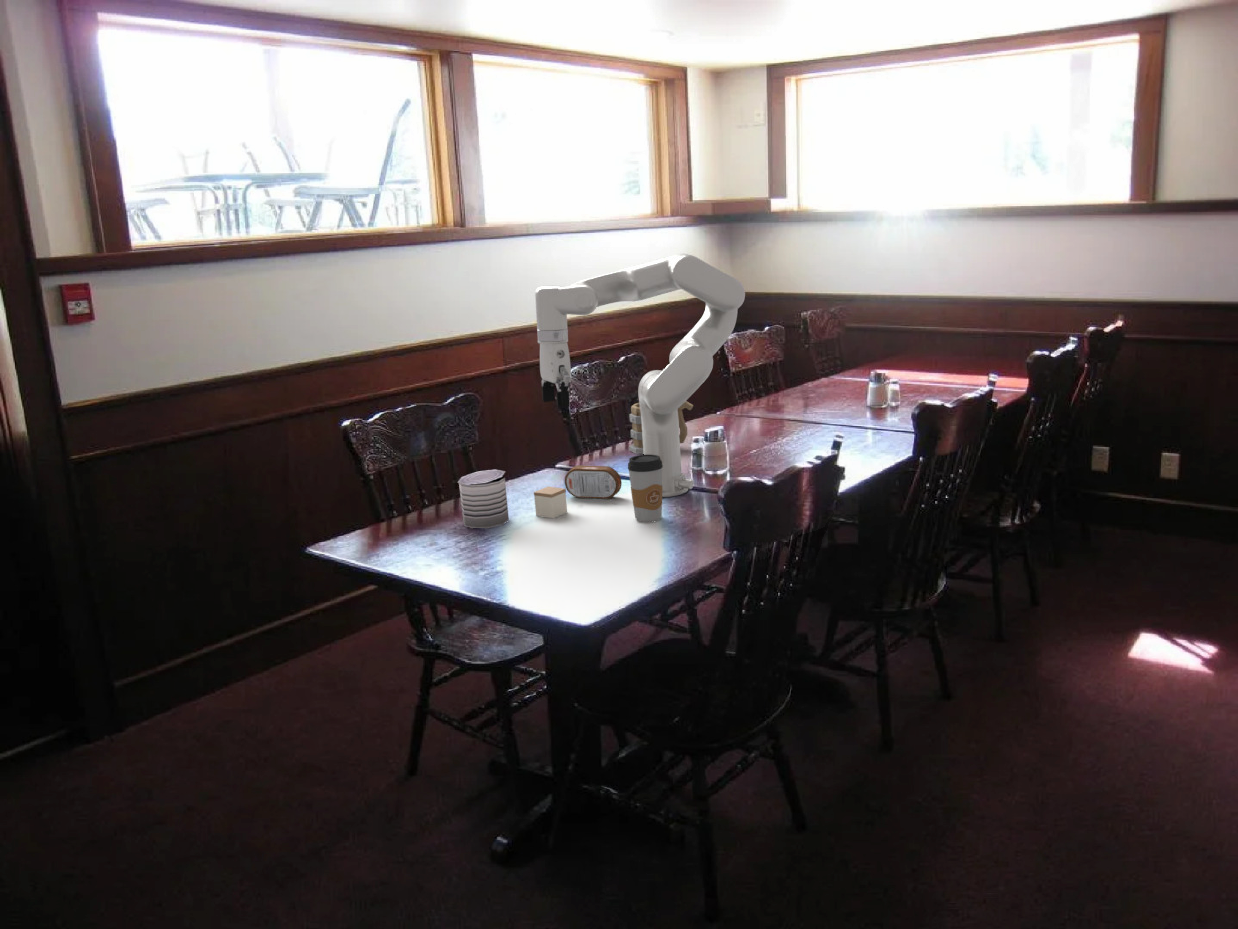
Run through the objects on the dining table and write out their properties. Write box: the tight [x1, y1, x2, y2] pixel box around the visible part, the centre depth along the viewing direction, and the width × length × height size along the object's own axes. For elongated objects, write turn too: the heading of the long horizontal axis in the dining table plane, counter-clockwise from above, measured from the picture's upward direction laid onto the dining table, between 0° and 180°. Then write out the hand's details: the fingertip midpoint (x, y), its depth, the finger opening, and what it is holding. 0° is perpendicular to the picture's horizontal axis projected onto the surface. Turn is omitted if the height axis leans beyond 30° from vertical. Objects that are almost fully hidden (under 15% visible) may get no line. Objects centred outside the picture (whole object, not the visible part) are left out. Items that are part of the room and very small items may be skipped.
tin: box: [564, 464, 623, 500], centre depth 275 cm, size 15×3×8 cm, turn 71°
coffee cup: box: [627, 454, 663, 523], centre depth 253 cm, size 8×8×15 cm
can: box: [457, 468, 510, 529], centre depth 260 cm, size 11×11×12 cm
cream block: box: [533, 486, 568, 519], centre depth 264 cm, size 6×6×6 cm
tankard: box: [628, 400, 694, 455], centre depth 321 cm, size 20×13×15 cm, turn 68°
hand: (556, 404), depth 268 cm, fingers open, 9 cm apart
